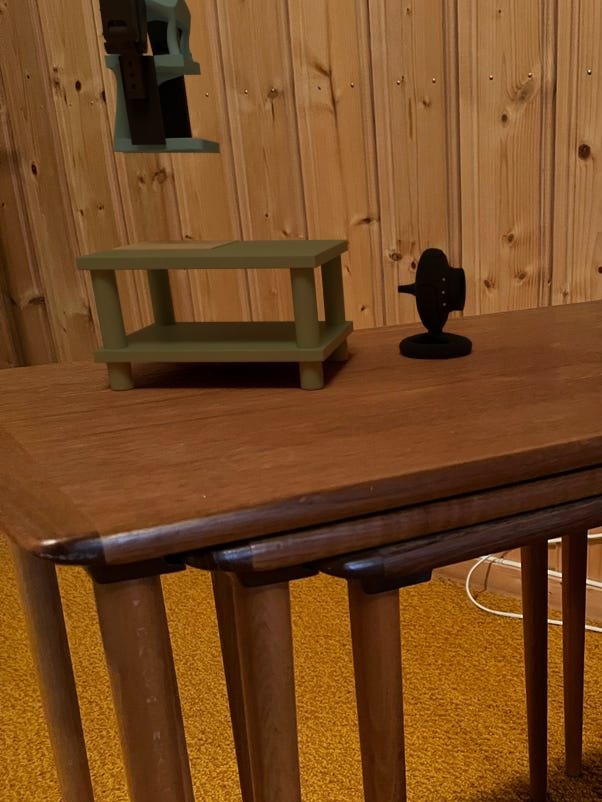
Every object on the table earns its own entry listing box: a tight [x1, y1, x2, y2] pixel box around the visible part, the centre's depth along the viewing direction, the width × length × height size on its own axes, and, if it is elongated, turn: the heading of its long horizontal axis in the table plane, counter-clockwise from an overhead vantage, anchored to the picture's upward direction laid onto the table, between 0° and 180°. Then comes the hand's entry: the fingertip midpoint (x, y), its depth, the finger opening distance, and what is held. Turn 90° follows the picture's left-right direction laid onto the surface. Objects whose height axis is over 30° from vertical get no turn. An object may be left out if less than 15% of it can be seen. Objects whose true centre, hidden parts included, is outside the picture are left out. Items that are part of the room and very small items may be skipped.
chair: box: [98, 0, 221, 154], centre depth 84 cm, size 8×8×12 cm
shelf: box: [74, 239, 355, 391], centre depth 89 cm, size 20×16×11 cm
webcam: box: [397, 247, 473, 360], centre depth 98 cm, size 8×8×10 cm
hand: (163, 144), depth 86 cm, fingers closed on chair, 7 cm apart
